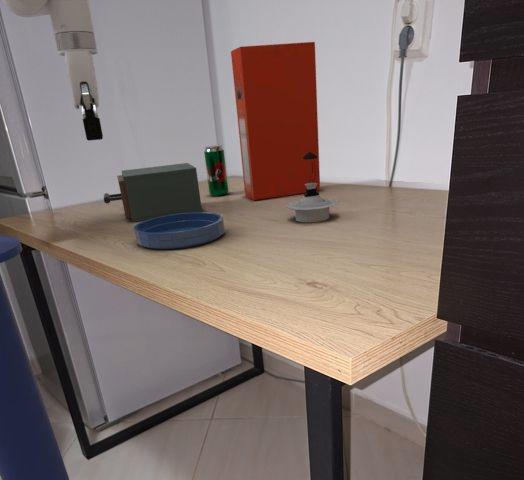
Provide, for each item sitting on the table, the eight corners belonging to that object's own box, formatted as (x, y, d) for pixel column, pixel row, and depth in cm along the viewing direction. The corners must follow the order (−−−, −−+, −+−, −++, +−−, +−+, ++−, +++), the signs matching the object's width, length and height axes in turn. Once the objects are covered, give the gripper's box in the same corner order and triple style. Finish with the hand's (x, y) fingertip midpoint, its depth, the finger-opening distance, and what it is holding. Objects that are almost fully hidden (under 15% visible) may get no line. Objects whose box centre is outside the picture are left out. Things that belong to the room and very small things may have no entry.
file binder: (245, 196, 127) (230, 50, 112) (307, 187, 131) (301, 46, 117) (254, 200, 120) (240, 46, 105) (320, 191, 124) (315, 41, 110)
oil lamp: (296, 156, 86) (347, 149, 89) (274, 153, 95) (321, 147, 98) (300, 227, 92) (347, 218, 95) (279, 218, 100) (323, 210, 103)
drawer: (107, 220, 108) (99, 183, 105) (107, 212, 118) (99, 177, 115) (191, 209, 112) (185, 173, 109) (184, 201, 122) (178, 168, 119)
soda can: (232, 193, 133) (227, 144, 127) (222, 196, 129) (216, 147, 123) (216, 193, 135) (210, 145, 130) (206, 196, 131) (199, 148, 126)
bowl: (140, 256, 83) (136, 238, 82) (134, 235, 97) (131, 220, 96) (233, 241, 87) (231, 224, 85) (215, 223, 101) (213, 208, 100)
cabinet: (132, 222, 109) (123, 176, 105) (129, 212, 120) (121, 170, 116) (202, 212, 113) (196, 167, 108) (193, 203, 123) (187, 162, 119)
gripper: (60, 51, 105) (78, 139, 113) (53, 40, 90) (75, 142, 98) (96, 49, 107) (112, 136, 114) (95, 38, 92) (114, 139, 99)
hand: (95, 139), depth 106 cm, fingers open, 9 cm apart
